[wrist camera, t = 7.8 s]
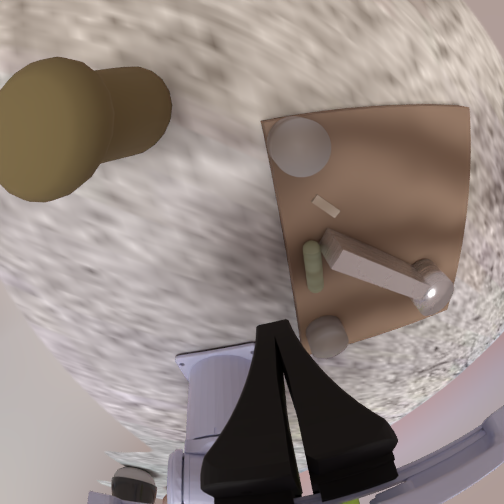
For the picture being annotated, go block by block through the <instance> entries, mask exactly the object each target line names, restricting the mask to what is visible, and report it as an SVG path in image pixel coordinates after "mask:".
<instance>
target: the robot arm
mask: <svg viewBox="0 0 504 504" xmlns="http://www.w3.org/2000/svg"><path fill="white" fill-rule="evenodd" d="M175 362H176V363H177V365H178V367H179V368H180V370H181V371H182V373H183V374H184V376H185V377H186V379H187V380H188V382H189V390H188V407H187V426H186V440H185V453H183V450H182V449H176V450H175V452H173V453H171V454H170V455H169V461H168V474H167V504H341V503H344V502H348V501H351V500H355V499H358V498H361V497H364V496H367V495H370V494H373V493H376V492H379V491H381V490H384V489H387V488H389V487H392V486H394V485H397V484H399V483H401V484H399V485H397V486H395V487H393V488H391V489H388V490H386V491H384V492H382V493H379V494H377V495H376V496H375V497H376V498H374V499H372V500H371V501H370V504H442V503H444V502H446V501H447V500H449V499H451V498H453V497H454V496H456V495H458V494H459V493H461V492H462V491H464V490H466V489H467V488H469V487H470V486H472V485H474V484H475V483H476V482H478V481H479V480H481V479H482V478H484V477H485V476H487V475H488V474H489V473H491V472H492V471H493V470H495V469H496V468H497V467H499V466H500V465H501V464H502V463H504V406H502V407H501V408H499V409H498V410H497V411H495V412H494V413H492V414H491V415H490V416H489V417H487V419H485V421H484V422H483V423H482V425H480V426H478V427H477V428H475V429H474V430H472V431H470V432H469V433H467V434H466V435H464V436H462V437H460V438H459V439H457V440H455V441H453V442H452V443H450V444H448V445H446V446H444V447H442V448H440V449H439V450H437V451H435V452H433V453H431V454H429V455H427V456H424V457H422V458H420V459H418V460H416V461H414V462H411V463H409V464H407V465H404V466H402V467H400V468H397V469H396V467H395V464H394V460H395V458H394V455H393V452H392V451H393V449H394V448H395V446H396V445H397V442H398V439H397V436H396V434H395V433H394V431H393V429H392V428H391V426H390V425H389V424H388V422H387V421H386V420H385V419H384V418H382V417H380V416H379V415H377V414H375V413H374V412H372V411H371V410H369V409H368V408H366V407H365V406H363V405H362V404H360V403H359V402H358V401H356V400H355V399H354V398H352V397H351V396H350V395H349V394H347V393H346V392H345V391H344V390H342V389H341V388H340V387H339V386H338V385H337V384H336V383H335V382H334V381H333V380H332V379H331V378H330V377H329V376H328V375H327V374H326V373H325V372H324V371H323V370H322V369H321V368H320V367H319V366H318V365H317V363H316V362H315V361H314V360H313V359H312V357H311V356H310V355H309V353H308V352H307V351H306V349H305V348H304V347H303V345H302V344H301V342H300V341H299V339H298V338H297V336H296V335H295V333H294V331H293V329H292V327H291V325H290V323H289V321H288V320H286V319H285V320H280V321H276V322H272V323H267V324H262V325H258V326H257V328H256V341H255V343H249V344H244V345H238V346H233V347H228V348H222V349H216V350H210V351H204V352H198V353H192V354H185V355H178V356H176V357H175ZM283 373H284V375H283ZM284 376H285V379H286V382H287V385H288V388H289V392H290V395H291V398H292V401H293V404H294V407H295V410H296V414H297V418H298V422H299V427H300V432H301V436H302V441H303V446H304V451H305V456H306V460H307V465H308V470H309V475H310V480H311V485H312V490H313V495H309V496H304V497H302V495H301V494H302V493H303V492H302V487H301V482H300V477H299V472H298V467H297V463H296V458H295V453H294V448H293V442H292V437H291V432H290V427H289V422H288V416H287V406H286V396H285V385H284ZM404 481H405V482H404ZM402 482H404V483H402ZM87 504H147V503H139V502H131V501H125V500H121V499H119V498H117V497H115V496H111V495H107V494H103V493H98V492H93V491H90V492H89V496H88V503H87Z"/></svg>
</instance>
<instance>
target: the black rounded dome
mask: <svg viewBox="0 0 504 504" xmlns="http://www.w3.org/2000/svg"><path fill="white" fill-rule="evenodd" d="M111 486H112V496H115V497H117V498H119V499H121V500H125V501H131V502H139V503H147V504H154V503H155V498H156V493H157V487H156V486H155V482H154V479H153V478H152V476H151V475H150V474H149V473H147V472H146V471H144V470H141V469H138V468H134V467H123V468H120V469H119V470H117V471H116V473H115V475H114V477H112V482H111Z"/></svg>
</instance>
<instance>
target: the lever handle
mask: <svg viewBox="0 0 504 504" xmlns="http://www.w3.org/2000/svg"><path fill="white" fill-rule="evenodd" d="M319 245H320V247H321V252H322V254H323V255H324V257H325V259H326V261H327V262H328V264H329V266H330V268H331V269H332V270H335V271H338V272H341V273H344V274H346V275H349V276H352V277H355V278H358V279H361V280H363V281H366V282H369V283H372V284H375V285H377V286H380V287H383V288H386V289H389V290H391V291H394V292H397V293H400V294H403V295H405V296H408V297H409V298H410V299H411V301H412V302H413V303H414V305H415V306H416V307H417V309H418V310H419V312H420V313H421V314H422V315H424V316H430V315H433V314H436V313H437V312H439V311H440V310H441V309H443V308H444V307H445V306H446V305H447V303H448V302H449V300H450V299H451V297H452V294H453V291H454V285H453V282H452V281H451V280H450V279H449V278H448V277H447V276H446V275H445V274H444V273H443V272H442V271H441V270H440V269H439V268H438V267H437V266H436V265H435V264H434V263H433V262H432V261H431V260H428V259H424V260H420V261H418V262H416V263H415V264H414V265H411V264H409V263H406V262H404V261H402V260H400V259H398V258H396V257H394V256H391V255H389V254H387V253H385V252H383V251H380V250H378V249H376V248H374V247H371V246H369V245H367V244H365V243H362V242H360V241H358V240H356V239H353V238H351V237H349V236H346V235H344V234H342V233H339V232H337V231H335V230H332V229H330V228H328V227H327V229H326V231H325V233H324V235H323V236H322V238H321V240H320V242H319Z"/></svg>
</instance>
